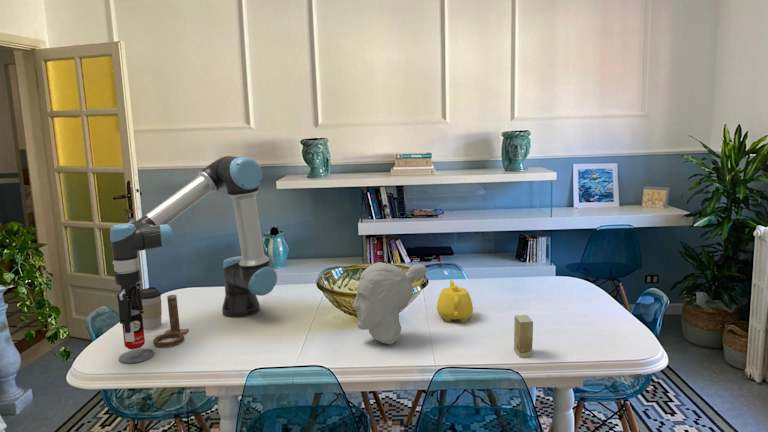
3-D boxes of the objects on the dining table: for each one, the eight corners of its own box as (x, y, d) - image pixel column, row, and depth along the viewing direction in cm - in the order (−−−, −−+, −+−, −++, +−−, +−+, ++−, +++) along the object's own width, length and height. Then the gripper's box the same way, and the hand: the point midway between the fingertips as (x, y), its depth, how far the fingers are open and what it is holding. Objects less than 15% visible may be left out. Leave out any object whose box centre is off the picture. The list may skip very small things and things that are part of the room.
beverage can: (121, 350, 187) (117, 316, 184) (130, 343, 193) (126, 309, 191) (140, 350, 186) (136, 315, 184) (148, 342, 193) (145, 309, 190)
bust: (352, 335, 203) (349, 260, 199) (422, 328, 208) (421, 255, 203) (357, 351, 189) (354, 271, 184) (432, 344, 193) (431, 265, 188)
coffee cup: (155, 331, 213) (151, 293, 211) (134, 330, 215) (130, 292, 212) (169, 322, 222) (165, 286, 219) (148, 321, 224) (144, 285, 221)
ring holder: (191, 330, 213) (188, 293, 210) (179, 346, 198) (175, 306, 195) (164, 331, 212) (160, 294, 210) (149, 348, 197) (145, 308, 195)
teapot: (438, 326, 210) (438, 293, 207) (435, 308, 229) (434, 278, 227) (475, 325, 209) (475, 292, 207) (469, 307, 229) (468, 277, 227)
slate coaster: (158, 349, 196) (158, 347, 196) (147, 363, 185) (147, 361, 185) (126, 351, 195) (126, 349, 195) (113, 364, 185) (113, 363, 184)
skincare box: (513, 350, 186) (513, 315, 184) (526, 349, 187) (526, 314, 185) (519, 358, 180) (520, 321, 178) (532, 357, 180) (533, 321, 178)
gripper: (127, 263, 194) (133, 327, 198) (102, 279, 175) (110, 349, 179) (149, 263, 195) (155, 326, 199) (126, 278, 176) (134, 348, 180)
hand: (134, 336), depth 189 cm, fingers closed on beverage can, 6 cm apart
